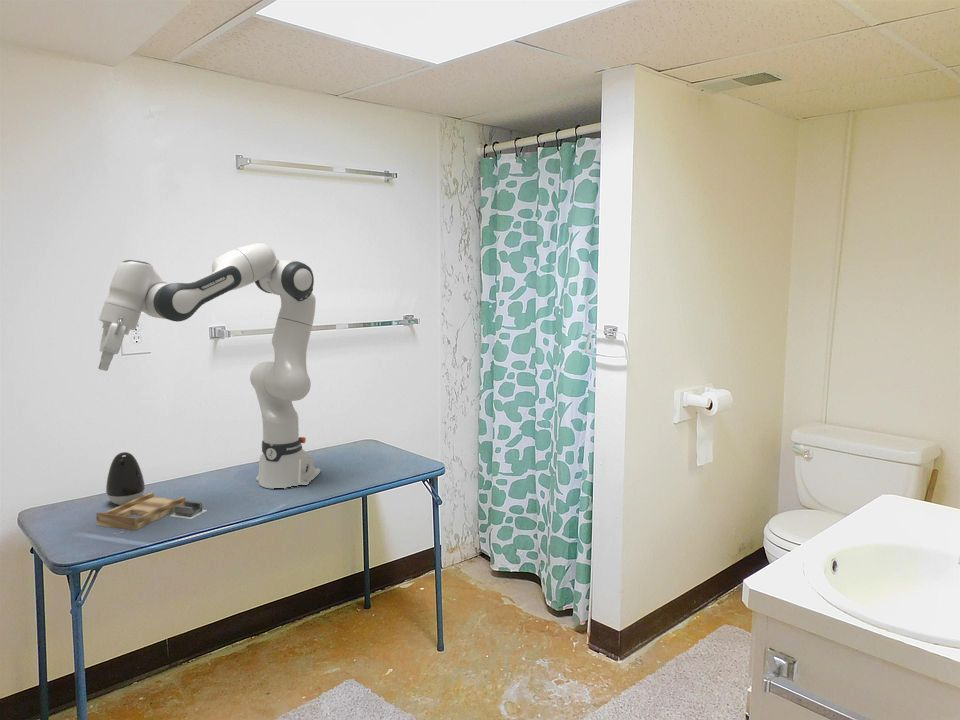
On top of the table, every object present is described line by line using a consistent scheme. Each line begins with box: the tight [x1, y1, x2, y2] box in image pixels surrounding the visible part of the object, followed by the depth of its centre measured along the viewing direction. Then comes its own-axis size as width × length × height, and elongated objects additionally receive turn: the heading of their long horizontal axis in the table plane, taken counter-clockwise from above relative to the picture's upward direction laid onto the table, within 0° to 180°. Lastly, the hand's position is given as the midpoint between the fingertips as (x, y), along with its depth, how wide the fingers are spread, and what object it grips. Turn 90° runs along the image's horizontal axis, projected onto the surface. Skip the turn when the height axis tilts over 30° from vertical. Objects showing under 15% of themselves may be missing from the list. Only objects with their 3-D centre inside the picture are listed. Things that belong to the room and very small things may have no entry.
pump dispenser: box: [105, 451, 146, 506], centre depth 206 cm, size 10×10×15 cm
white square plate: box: [170, 509, 208, 520], centre depth 197 cm, size 7×7×1 cm
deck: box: [95, 491, 187, 531], centre depth 195 cm, size 20×12×4 cm, turn 164°
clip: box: [174, 500, 203, 517], centre depth 196 cm, size 5×5×2 cm
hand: (102, 370), depth 180 cm, fingers open, 8 cm apart
